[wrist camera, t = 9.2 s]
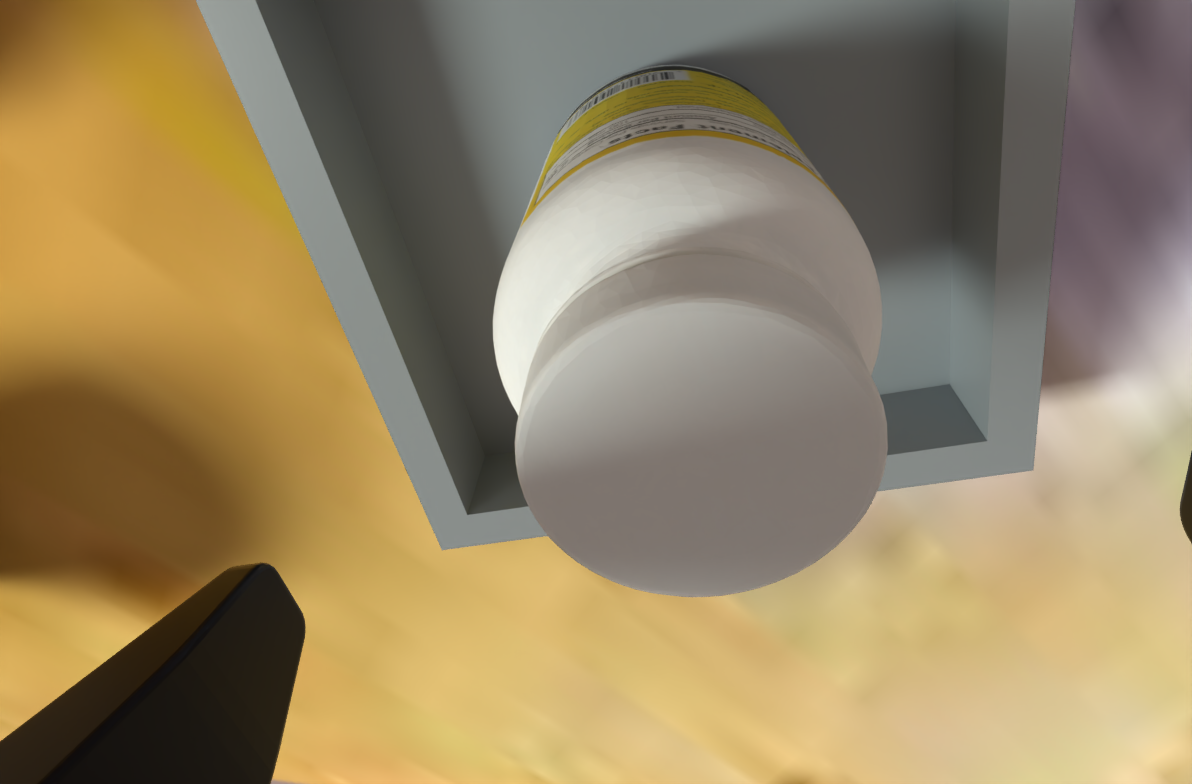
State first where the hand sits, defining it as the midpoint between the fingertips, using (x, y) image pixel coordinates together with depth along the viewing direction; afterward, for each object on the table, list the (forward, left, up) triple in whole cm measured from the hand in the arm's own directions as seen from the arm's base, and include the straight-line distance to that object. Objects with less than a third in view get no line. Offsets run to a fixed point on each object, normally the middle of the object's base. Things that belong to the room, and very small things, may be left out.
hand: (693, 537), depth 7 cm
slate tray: (0, 0, -11) cm, 11 cm away
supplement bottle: (0, 0, -11) cm, 11 cm away
